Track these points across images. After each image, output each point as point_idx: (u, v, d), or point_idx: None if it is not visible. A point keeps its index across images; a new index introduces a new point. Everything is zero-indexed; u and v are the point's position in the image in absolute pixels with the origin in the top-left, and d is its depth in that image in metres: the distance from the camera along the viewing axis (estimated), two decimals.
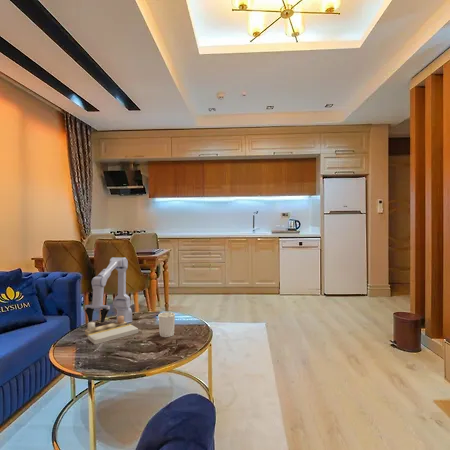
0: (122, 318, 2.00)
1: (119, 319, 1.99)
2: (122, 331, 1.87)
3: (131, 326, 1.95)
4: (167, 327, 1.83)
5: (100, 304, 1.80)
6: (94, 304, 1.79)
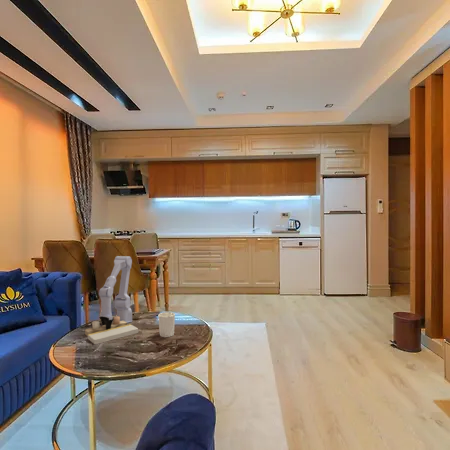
0: (118, 319, 1.98)
1: (115, 320, 1.97)
2: (122, 331, 1.87)
3: (131, 326, 1.95)
4: (167, 327, 1.83)
5: (106, 314, 1.92)
6: (101, 313, 1.93)
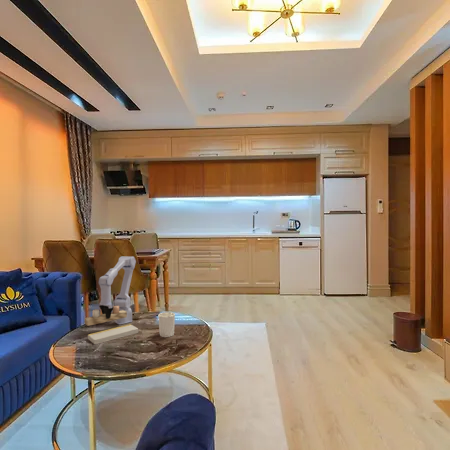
0: (117, 308, 1.98)
1: (114, 309, 1.97)
2: (122, 331, 1.87)
3: (131, 326, 1.95)
4: (167, 327, 1.83)
5: (105, 302, 1.92)
6: (101, 302, 1.93)
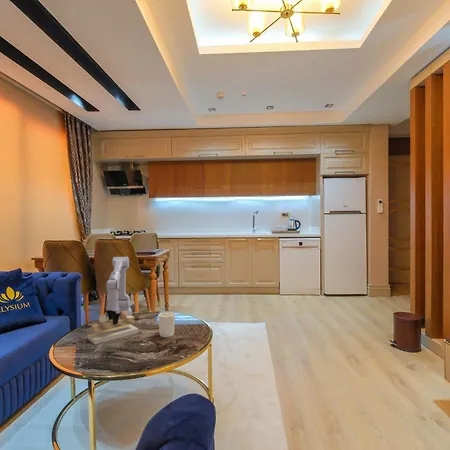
0: (125, 313, 1.89)
1: (122, 314, 1.89)
2: (122, 331, 1.87)
3: (131, 326, 1.95)
4: (167, 327, 1.83)
5: (113, 307, 1.84)
6: (108, 307, 1.85)
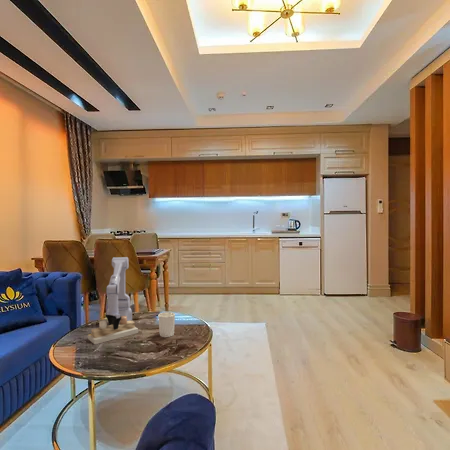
0: (125, 319, 1.90)
1: (122, 320, 1.89)
2: (122, 331, 1.87)
3: None
4: (167, 327, 1.83)
5: (113, 312, 1.84)
6: (108, 311, 1.85)
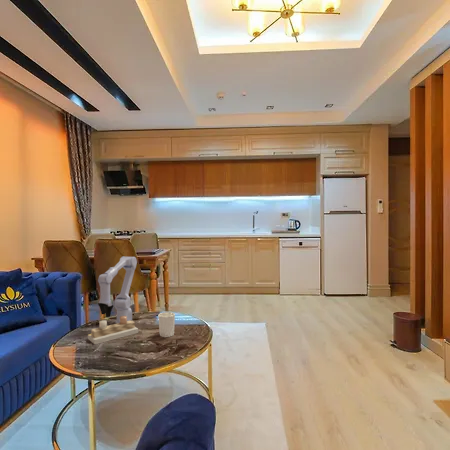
0: (125, 319, 1.89)
1: (121, 320, 1.89)
2: (122, 331, 1.87)
3: None
4: (167, 327, 1.83)
5: (105, 300, 1.93)
6: (100, 300, 1.94)
